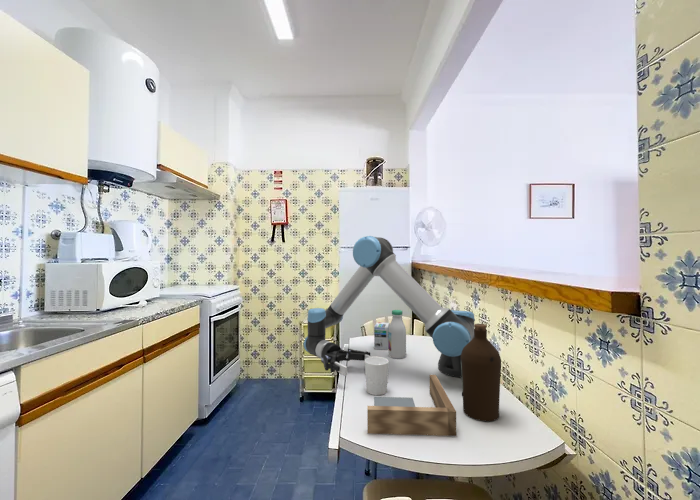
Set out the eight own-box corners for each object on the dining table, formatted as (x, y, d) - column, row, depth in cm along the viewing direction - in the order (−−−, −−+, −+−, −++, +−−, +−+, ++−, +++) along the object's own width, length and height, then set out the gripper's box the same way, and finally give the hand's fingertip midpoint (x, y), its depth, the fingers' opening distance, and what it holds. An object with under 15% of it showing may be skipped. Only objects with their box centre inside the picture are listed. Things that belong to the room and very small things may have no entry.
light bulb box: (388, 350, 149) (388, 327, 149) (373, 349, 151) (373, 326, 151) (390, 343, 160) (389, 322, 160) (376, 343, 161) (376, 321, 161)
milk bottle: (408, 355, 142) (408, 310, 142) (401, 360, 135) (401, 312, 136) (392, 352, 146) (392, 308, 146) (385, 357, 140) (385, 311, 140)
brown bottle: (507, 413, 90) (507, 324, 91) (491, 427, 83) (491, 331, 83) (471, 400, 98) (471, 319, 98) (453, 412, 91) (453, 324, 91)
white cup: (382, 398, 100) (382, 366, 100) (360, 392, 104) (360, 361, 104) (392, 389, 107) (392, 359, 107) (371, 384, 111) (371, 355, 111)
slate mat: (412, 398, 100) (412, 397, 100) (418, 418, 88) (418, 417, 88) (373, 397, 100) (373, 396, 100) (374, 417, 88) (374, 416, 88)
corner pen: (435, 393, 103) (435, 374, 103) (456, 436, 79) (456, 411, 79) (367, 391, 105) (367, 373, 105) (367, 433, 81) (367, 409, 81)
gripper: (353, 355, 135) (388, 369, 118) (301, 367, 121) (332, 386, 104) (353, 337, 136) (388, 349, 118) (301, 348, 121) (332, 363, 104)
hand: (362, 367), depth 111 cm, fingers open, 13 cm apart
